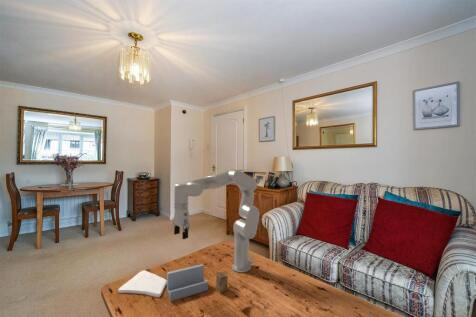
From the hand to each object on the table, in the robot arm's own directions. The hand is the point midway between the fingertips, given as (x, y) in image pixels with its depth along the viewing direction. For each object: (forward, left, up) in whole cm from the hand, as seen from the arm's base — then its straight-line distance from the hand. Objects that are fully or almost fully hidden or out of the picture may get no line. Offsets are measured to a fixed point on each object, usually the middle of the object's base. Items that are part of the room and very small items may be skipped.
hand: (181, 236), depth 117 cm
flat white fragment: (+15, -11, -29) cm, 35 cm away
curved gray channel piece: (-3, +5, -28) cm, 29 cm away
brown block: (-20, +13, -28) cm, 37 cm away
